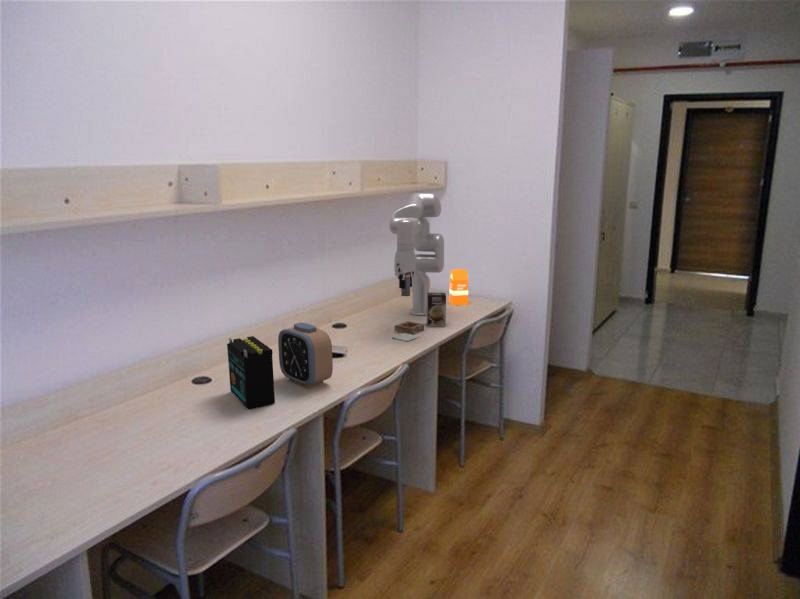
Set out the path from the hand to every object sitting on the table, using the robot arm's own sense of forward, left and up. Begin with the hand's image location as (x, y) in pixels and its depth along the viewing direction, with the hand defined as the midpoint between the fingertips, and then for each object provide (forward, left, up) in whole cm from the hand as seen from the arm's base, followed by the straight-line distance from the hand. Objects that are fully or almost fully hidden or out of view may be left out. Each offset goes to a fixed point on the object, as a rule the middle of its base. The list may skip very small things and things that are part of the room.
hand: (405, 287), depth 277 cm
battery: (+89, +4, -24) cm, 93 cm away
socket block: (-10, -6, -24) cm, 26 cm away
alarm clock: (+67, +7, -24) cm, 72 cm away
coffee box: (-26, -2, -24) cm, 35 cm away
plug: (0, 0, -4) cm, 4 cm away
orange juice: (-70, -19, -24) cm, 76 cm away
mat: (0, 0, -24) cm, 24 cm away
